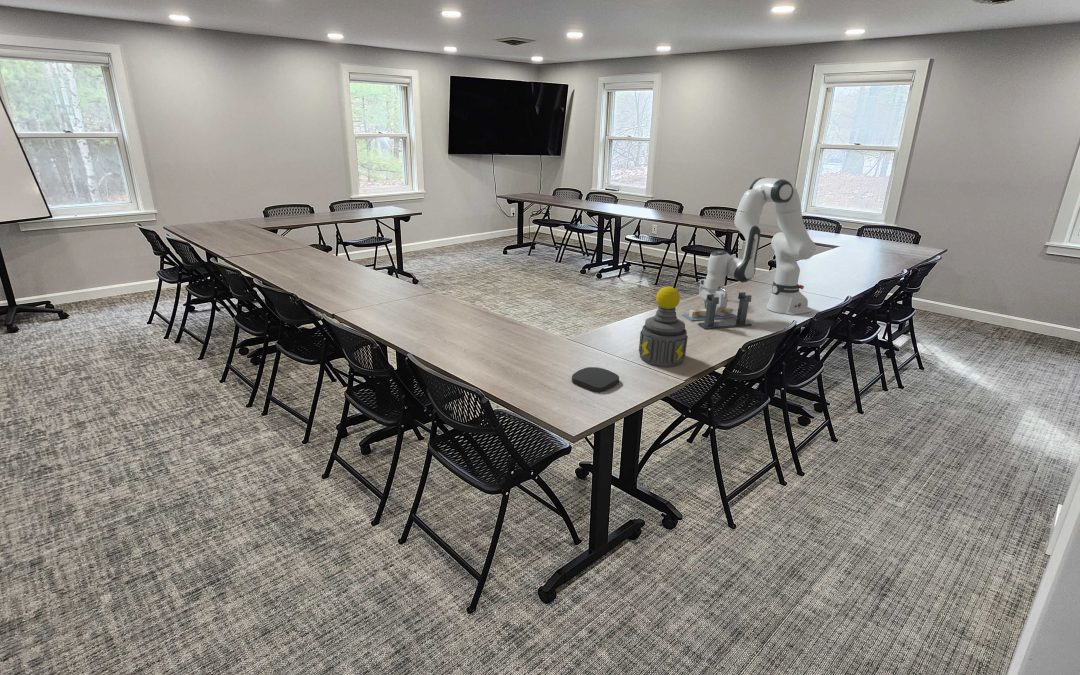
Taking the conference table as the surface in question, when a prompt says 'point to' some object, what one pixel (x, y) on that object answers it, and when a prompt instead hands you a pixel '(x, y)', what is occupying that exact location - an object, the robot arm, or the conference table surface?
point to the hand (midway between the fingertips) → (710, 311)
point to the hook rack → (726, 324)
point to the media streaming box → (595, 379)
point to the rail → (703, 311)
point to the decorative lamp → (664, 332)
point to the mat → (704, 317)
